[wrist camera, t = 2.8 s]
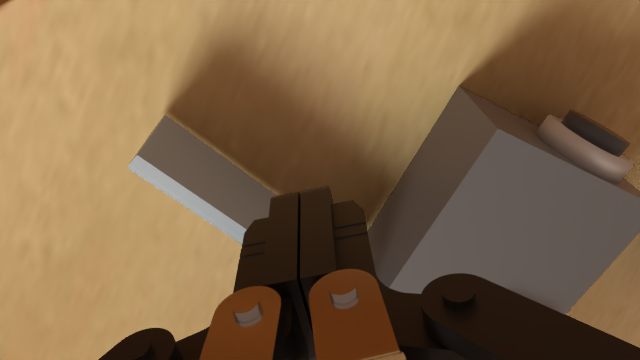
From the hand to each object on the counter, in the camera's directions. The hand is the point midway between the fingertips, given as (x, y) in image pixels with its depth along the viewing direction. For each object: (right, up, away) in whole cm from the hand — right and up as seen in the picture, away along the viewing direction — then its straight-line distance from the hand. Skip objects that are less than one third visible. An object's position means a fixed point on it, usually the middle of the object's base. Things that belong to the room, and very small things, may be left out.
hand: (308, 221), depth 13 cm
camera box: (+9, -1, +17) cm, 19 cm away
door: (-3, 0, +15) cm, 16 cm away
